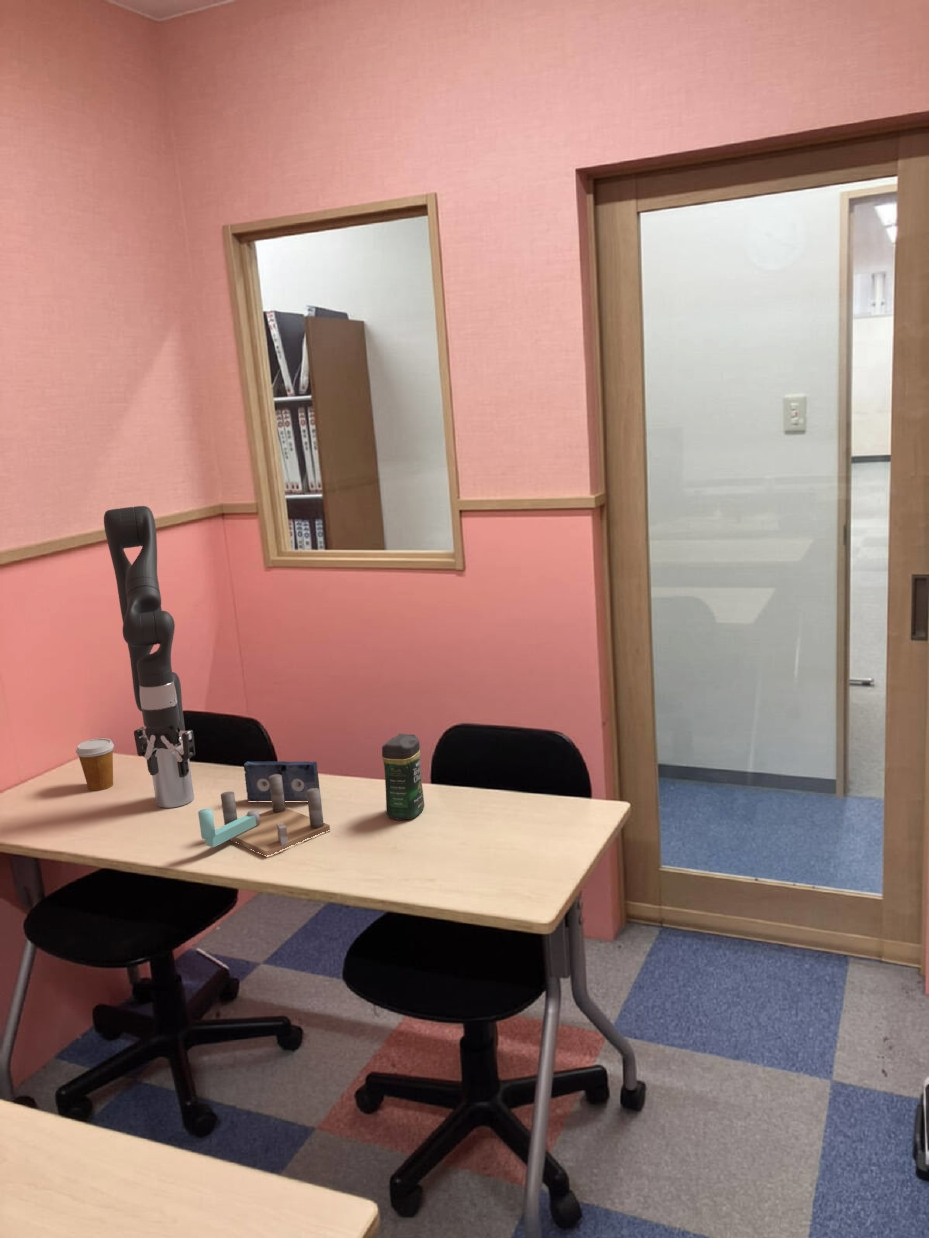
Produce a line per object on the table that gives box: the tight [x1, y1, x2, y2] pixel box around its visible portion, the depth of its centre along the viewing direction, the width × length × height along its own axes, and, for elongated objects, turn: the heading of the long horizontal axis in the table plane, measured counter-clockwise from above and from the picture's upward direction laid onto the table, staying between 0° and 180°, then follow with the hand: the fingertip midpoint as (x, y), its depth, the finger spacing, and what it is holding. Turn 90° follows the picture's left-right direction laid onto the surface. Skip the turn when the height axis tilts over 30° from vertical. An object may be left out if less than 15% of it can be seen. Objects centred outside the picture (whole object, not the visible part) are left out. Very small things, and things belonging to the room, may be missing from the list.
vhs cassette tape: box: [243, 760, 321, 802], centre depth 248 cm, size 18×3×10 cm, turn 78°
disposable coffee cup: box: [75, 737, 115, 792], centre depth 266 cm, size 10×10×12 cm
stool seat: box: [220, 774, 331, 856], centre depth 228 cm, size 20×17×10 cm
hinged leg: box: [197, 808, 260, 848], centre depth 225 cm, size 16×3×8 cm, turn 145°
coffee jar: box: [381, 733, 425, 821], centre depth 234 cm, size 10×8×19 cm
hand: (169, 775), depth 220 cm, fingers open, 7 cm apart
